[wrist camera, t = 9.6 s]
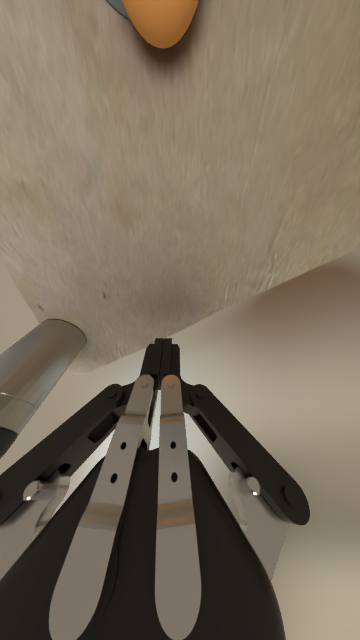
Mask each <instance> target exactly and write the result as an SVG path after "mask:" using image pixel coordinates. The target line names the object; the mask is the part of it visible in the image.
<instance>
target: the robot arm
mask: <svg viewBox="0 0 360 640" xmlns="http://www.w3.org/2000/svg"><path fill="white" fill-rule="evenodd" d="M85 343H86V338H85V336H84V334H83V333H82V332H81V331H80V330H79V329H78V328H76V327H75V326H73V325H72V324H70V323H67V322H64V321H61V320H55V319H50V320H45V321H43V322H42V323H41V324H39V325H38V326H37V327H36V328H34V329H33V330H32V331H31V332H29V333H28V334H27V335H25V336H24V337H23V338H21V339H20V340H19V341H18V342H16V343H15V344H14V345H12V346H11V347H10V348H9V349H7V350H6V351H5V352H3V353H2V354H1V355H0V458H1V457H2V456H3V455H4V454H5V453H6V452H7V450H8V449H9V448H10V446H11V445H12V444H13V442H14V441H15V439H16V438H17V436H18V435H19V434H20V433H21V431H22V429H23V428H24V427H25V426H26V424H27V423H28V422H29V420H30V419H31V418H32V416H33V415H34V413H35V412H36V410H37V409H38V408H39V406H40V405H41V404H42V402H43V401H44V400H45V398H46V397H47V395H48V394H49V393H50V391H51V390H52V389H53V387H54V386H55V384H56V383H57V382H58V380H59V379H60V378H61V376H62V375H63V374H64V372H65V371H66V369H67V368H68V367H69V365H70V364H71V363H72V361H73V360H74V359H75V357H76V356H77V355H78V353H79V352H80V350H81V349H82V348H83V346H84V345H85ZM158 390H161V416H160V437H159V448H156V449H154V450H149V446H150V440H151V429H152V423H153V418H154V412H155V407H156V401H157V393H158ZM183 412H185V413H187V414H189V415H190V417H191V418H192V419H193V421H194V422H195V423H196V425H197V426H198V427H199V429H200V430H201V431H202V433H203V434H204V436H205V437H206V438H207V440H208V441H209V443H210V444H211V445H212V447H213V448H214V449H215V451H216V452H217V454H218V455H219V456H220V458H221V459H222V460H223V462H224V463H225V465H226V466H227V467H228V469H229V470H230V471H231V472H230V475H229V488H230V492H231V494H232V497H233V498H234V500H235V502H236V505H237V507H238V511H239V516H240V526H239V524H238V522H237V521H236V519H235V517H234V516H233V514H232V512H231V511H230V509H229V507H228V506H227V504H226V502H225V501H224V499H223V497H222V496H221V494H220V492H219V491H218V489H217V487H216V486H215V484H214V482H213V481H212V479H211V477H210V476H209V474H208V472H207V471H206V469H205V467H204V466H203V464H202V462H201V461H200V460H199V459H198V457H197V456H196V455H195V454H194V453H193V452H191V451H190V450H188V449H187V439H186V430H185V419H184V414H183ZM115 428H116V429H115ZM114 429H115V431H114V434H113V437H112V440H111V443H110V445H109V448H108V451H107V454H106V456H104V457H103V458H102V459H101V460H100V461H99V462H98V463H97V464H96V465H95V467H94V468H93V469H92V470H91V471H90V472H89V474H88V475H87V476H86V477H85V478H84V480H83V481H82V482H81V483H80V484H79V486H78V487H77V488H76V489H75V490H74V492H73V493H72V494H71V495H70V496H69V498H68V499H67V500H66V501H65V503H64V504H63V505H62V506H61V507H60V509H59V510H58V511H57V512H56V513H55V515H54V516H53V517H52V515H53V513H54V511H55V509H56V508H57V506H58V505H59V504H60V502H61V501H62V500H63V498H64V496H65V495H66V493H67V490H68V488H69V484H70V477H71V476H72V474H73V473H74V472H75V471H76V470H77V469H78V468H79V467H80V466H81V465H82V464H83V463H84V461H85V460H86V459H87V458H88V457H89V456H90V455H91V454H92V453H93V452H94V451H95V450H96V449H97V448H98V446H99V445H100V444H101V443H102V442H103V441H104V440H105V439H106V438H107V437H108V436H109V435H110V433H111V432H112V431H113V430H114ZM51 517H52V518H51ZM309 517H310V510H309V505H308V501H307V499H306V496H305V494H304V493H303V491H302V489H301V488H300V486H299V485H298V484H297V483H296V481H295V480H294V479H293V478H292V477H291V476H290V475H289V474H288V473H287V472H286V471H285V470H284V469H283V468H282V466H280V465H279V463H278V462H277V461H276V460H275V459H274V458H273V457H272V456H271V455H270V454H269V453H268V452H267V451H266V450H265V448H264V447H263V446H262V445H261V444H260V443H259V442H258V441H257V440H256V439H255V438H254V437H253V436H252V435H251V434H250V433H249V432H248V430H247V429H246V428H245V427H244V426H243V425H242V424H241V423H240V422H239V421H238V420H237V419H236V418H235V417H234V416H233V415H232V414H231V413H230V411H228V409H227V408H226V407H225V406H224V405H223V404H222V403H221V402H220V401H219V400H218V399H217V398H216V397H215V396H214V395H213V394H212V392H210V390H209V389H208V388H207V387H206V386H204V385H201V384H197V385H195V386H193V385H190V384H187V383H185V382H184V381H183V380H182V379H181V376H180V348H179V346H178V345H177V344H172V338H156V339H155V344H149V346H148V347H147V348H146V352H145V356H144V360H143V364H142V369H141V373H140V376H139V377H138V378H137V380H136V381H135V382H133V383H131V384H128V385H125V386H120V385H119V384H112V385H110V386H108V387H106V388H105V389H104V390H103V391H102V392H100V393H99V394H98V395H97V396H96V397H95V398H93V399H92V400H91V401H90V402H88V403H87V404H86V405H85V406H84V407H82V408H81V409H80V410H79V411H77V412H76V413H75V414H74V415H73V416H71V417H70V418H69V419H68V420H66V421H65V422H64V423H63V424H62V425H60V426H59V427H58V428H57V429H56V430H54V431H53V432H52V433H51V434H50V435H48V436H47V437H46V438H45V439H43V440H42V441H41V442H40V443H39V444H37V445H36V446H35V447H34V448H33V449H31V450H30V451H29V452H28V453H27V454H26V455H24V456H23V457H22V458H20V459H19V460H18V461H17V462H16V463H14V464H13V465H12V466H11V467H10V468H8V469H7V470H6V471H5V472H4V473H2V474H1V475H0V640H286V638H285V632H284V626H283V621H282V617H281V612H280V609H279V605H278V602H277V598H276V595H275V592H274V589H273V586H272V584H271V580H272V577H273V573H274V570H275V567H276V564H277V561H278V558H279V554H280V551H281V548H282V545H283V541H284V538H285V535H286V532H287V529H288V526H289V524H290V523H293V524H298V525H305V524H306V523H307V522H308V520H309Z"/></svg>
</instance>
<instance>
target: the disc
mask: <svg viewBox="0 0 360 640" xmlns="http://www.w3.org/2000/svg"><path fill="white" fill-rule="evenodd" d="M107 2H108V3H109V4H110V5H111V6H112V7H113V8H114V9H115V10H116V11H118V12H119V13H120V14H121V15H122V16H124V17H125V18H127V19H128V20H129V21H131V20H130V18H129V16H128V14H127V12H126V9H125V7H124V5H123V3H122V0H107ZM131 22H132V21H131Z"/></svg>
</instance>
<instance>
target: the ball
mask: <svg viewBox="0 0 360 640" xmlns="http://www.w3.org/2000/svg"><path fill="white" fill-rule="evenodd" d="M198 1H199V0H122V3H123V5H124V7H125V9H126V12H127V14H128V16H129V18H130V20H131V21H132V23H133V25H134V26H135V28H136V29H137V31H138V32H139V34H140V35H141V36H142V37H143V38H144V39H145V40H146V41H147V42H148V43H149V44H151V45H152V46H155V47H157V48H169V47H171V46H173V45H174V44H176V43H177V42H178V41H179V40H180V39H181V38H182V36H183V35H184V33H185V32H186V30H187V29H188V27H189V25H190V23H191V21H192V18H193V16H194V13H195V10H196V8H197V5H198Z"/></svg>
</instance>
